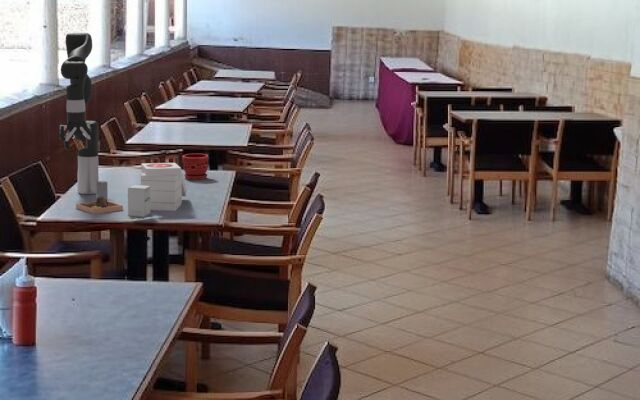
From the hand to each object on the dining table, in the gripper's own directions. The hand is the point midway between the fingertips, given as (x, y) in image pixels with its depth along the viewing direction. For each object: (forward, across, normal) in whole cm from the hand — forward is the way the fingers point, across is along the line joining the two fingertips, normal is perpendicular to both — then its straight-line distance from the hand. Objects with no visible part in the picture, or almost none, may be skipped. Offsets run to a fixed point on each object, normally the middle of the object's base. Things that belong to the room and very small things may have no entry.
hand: (77, 148), depth 419 cm
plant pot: (+31, -77, -56) cm, 100 cm away
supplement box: (+26, -18, +22) cm, 39 cm away
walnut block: (+25, -2, +4) cm, 26 cm away
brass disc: (+25, -4, +10) cm, 27 cm away
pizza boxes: (+28, -37, +1) cm, 46 cm away
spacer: (+26, -8, +3) cm, 27 cm away
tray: (+26, -7, +6) cm, 28 cm away
